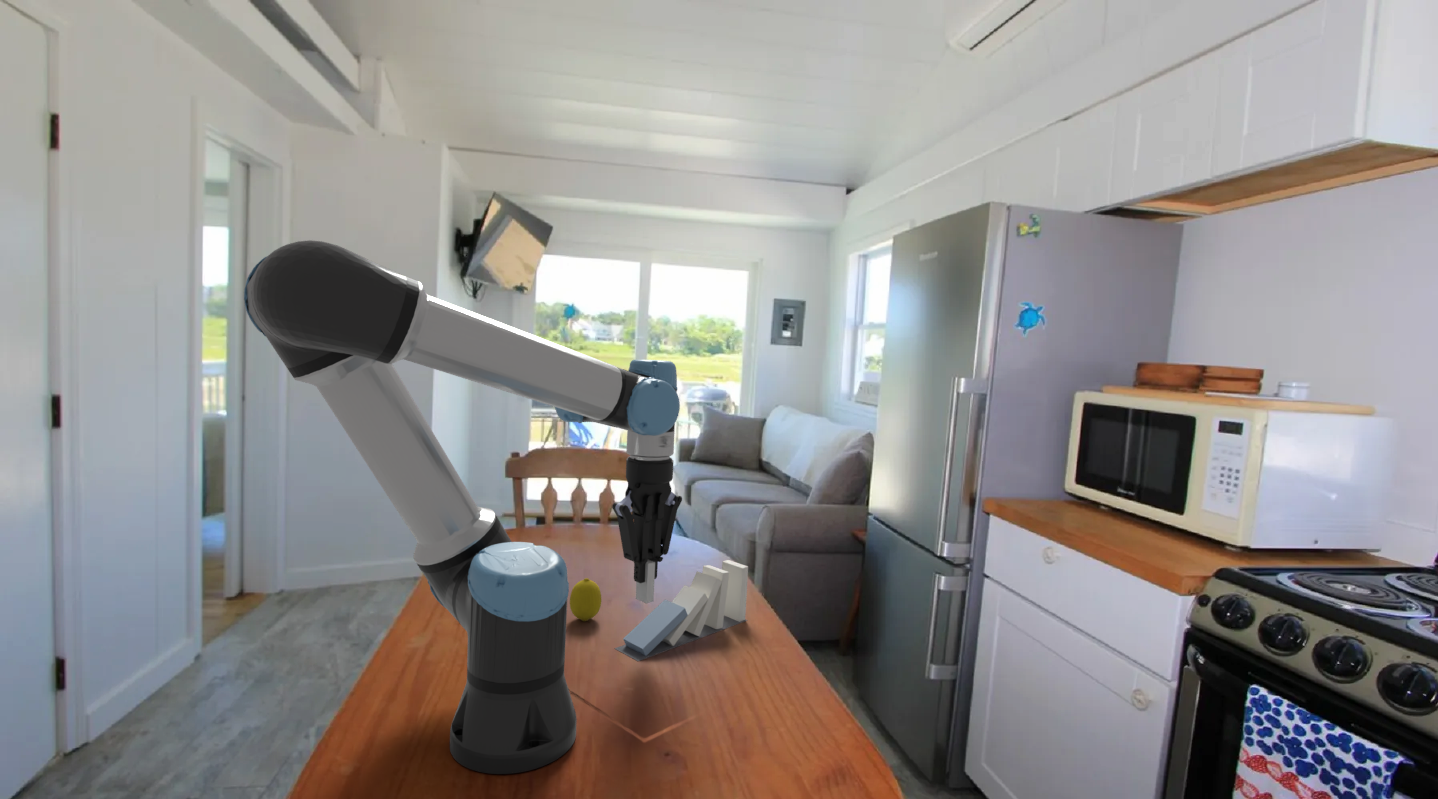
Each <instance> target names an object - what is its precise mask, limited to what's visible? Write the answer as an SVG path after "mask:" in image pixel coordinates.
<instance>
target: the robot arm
mask: <svg viewBox="0 0 1438 799" xmlns="http://www.w3.org/2000/svg"><path fill="white" fill-rule="evenodd" d="M243 290H244V291H243V300H244V308H245V311H246V313H247V315H248V318H249V319H250V321H251V323H252V324H253V326H254V327H255V328H256V330H258V331H259V333H261V334H262V335H263V336H264V337H265V338H266V339H267V340H268V341H269V343H270V345H271V346H272V347H273V349H274V350H275V352H276V354H277V355H278V357H279V358H280V360H281V361H282V363H283V364H284V366H285V367H286V369H287V370H288V372H289V373H290V375H291V376H292V378H293V379H294V380H295V381H298V382H301V383H305V384H309V385H312V386H315V387H316V388H317V390H318V391H319V393H320V395H321V396H322V398H323V400H325V402H326V403H327V405H328V407H329V408H330V409H331V411H332V413H333V414H334V416H335V417H336V419H337V420H338V423H339V424H340V426H341V427H342V428H343V431H345V433H346V434H347V436H348V438H349V439H350V441H351V442H352V444H353V446H355V448H356V449H357V451H358V452H359V454H360V456H361V457H362V459H363V460H364V462H365V463H366V465H367V467H368V468H369V470H370V471H371V472H372V474H373V476H374V478H375V479H376V480H377V482H378V483H379V485H380V486H381V488H382V489H383V491H384V493H385V494H386V496H387V498H388V499H389V500H390V502H391V504H392V505H393V506H394V508H395V510H396V511H397V513H398V514H399V516H400V517H401V519H402V520H403V522H404V524H405V525H406V527H407V528H408V530H409V531H410V533H411V534H412V536H413V538H415V540H416V542H417V543H416V545H415V546H416V547H415V548H414V552H413V560H414V562H415V564H416V565H417V566H418V568H419V570H420V571H421V572H422V574H423V576H424V577H425V579H426V580H427V583H428V585H429V588H430V589H429V590H430V592H431V593H432V595H433V597H434V599H435V600H436V601H437V602H439V604H440V605H441V606H442V607H443V608H445V609H446V610H447V611H448V612H449V613H450V614H451V616H452V617H453V618H455V620H456V622H458V624H459V625H460V626H461V627H462V628H463V629H464V630H465V631H466V634H467V635H466V636H467V655H466V656H467V657H466V658H467V659H466V661H467V662H466V666H467V668H466V683H465V685H464V689H463V691H462V694H461V697H460V700H459V702H458V705H457V709H456V711H455V713H454V716H453V718H452V721H451V724H450V725H451V726H450V731H449V751H450V754H451V756H452V758H453V759H454V760H455V761H456V762H457V763H458V764H460V765H461V766H463V767H464V768H467V769H469V770H471V771H475V772H478V773H484V774H489V775H490V774H491V775H493V774H494V775H509V774H518V773H525V772H529V771H532V770H535V769H539V768H541V767H544V766H546V765H548V764H549V765H550V764H551V763H553V762H555V761H557V760H558V759H560V758H561V757H562V756H564V755H565V754H566V753H567V752H568V751H569V750H570V749H571V748H572V746H573V745H574V743H575V741H576V737H577V722H578V721H577V720H578V719H577V713H576V709H575V707H574V703H573V700H572V697H571V693H570V691H569V690H570V689H569V686H568V684H567V680H566V676H565V660H566V637H567V631H566V630H567V616H568V615H567V614H568V598H569V592H570V590H569V588H570V583H569V580H568V567H567V563H566V561H565V559H564V558H563V557H562V556H561V554H559V553H558V552H557V551H555V550H554V549H552V548H549V547H548V546H545V545H535V543H533V542H526V541H512V539H511V538H510V536H509V535H508V533H507V531H506V529H505V528H504V526H503V524H502V522H501V521H500V519H499V518H498V516H497V514H496V513H495V511H494V510H493V509H491V508H488V507H481V506H478V505H477V503H476V502H475V500H474V498H473V497H472V495H471V494H470V492H469V491H468V489H467V487H466V485H465V484H464V482H463V480H462V479H461V477H460V475H459V474H458V471H457V470H456V468H455V467H454V465H453V463H452V462H451V460H450V459H449V457H448V455H447V453H446V452H445V450H444V448H443V447H442V445H441V444H440V442H439V440H438V438H437V436H436V435H435V434H434V432H433V430H432V428H431V426H430V425H429V423H428V421H427V420H426V418H425V417H424V415H423V414H422V412H421V410H420V408H419V407H418V405H417V403H416V401H415V400H414V399H413V397H412V395H411V393H410V392H409V390H408V388H407V386H406V385H405V383H404V382H403V380H402V378H401V377H400V375H399V373H398V372H397V370H396V368H395V367H394V365H393V364H394V363H397V362H399V361H401V360H403V361H408V362H411V363H414V364H417V365H421V366H423V367H427V368H430V369H433V370H436V371H439V372H443V373H446V374H449V375H452V376H455V377H459V378H462V379H465V380H468V381H471V382H475V383H478V384H481V385H484V386H487V387H491V388H494V389H496V390H500V391H503V392H506V393H510V394H513V395H516V396H518V397H519V396H520V397H522V398H526V399H529V400H532V401H535V402H538V403H541V404H545V405H548V406H551V407H554V408H555V412H556V414H557V416H558V418H560V420H561V421H563V422H564V423H565V422H566V423H578V424H582V423H596V424H600V425H605V426H608V427H613V428H618V429H621V430H625V431H627V436H626V454H627V455H629V456H627V458H626V460H625V461H626V462H625V465H626V466H625V480H626V482H627V488H626V490H625V493H624V494H625V495H624V496H625V497H624V498H623V499H622V500H620V502H613V503H612V506H611V508H612V510H613V512H614V514H615V515H616V518H617V523H618V529H619V536H620V541H621V547H622V552H623V557H624V559H626V560H628V561H632V562H633V580H634V582H636V585H635V586H636V587H635V599H636V600H638V601H640V602H642V603H644V604H651V603H653V602H654V601H655V598H654V597H655V580H656V579H657V577H658V564H659V563H660V562H662V561H663V560H664V557H663V555H664V556H666V555H668V553H669V550H670V545H671V541H672V540H671V539H672V535H673V532H674V531H673V530H674V527H675V523H676V522H675V521H676V516H677V512H678V509H679V507H680V505H681V503H682V501H683V497H682V496H681V495H678V494H676V493H674V492H673V491H672V486H671V484H670V482H672V480H673V479H674V459H673V458H672V457H671V456H673V455H674V453H675V427H676V422H677V421H678V417H679V414H680V409H681V408H680V407H681V404H680V398H679V395H678V393H677V392H678V381H677V380H678V375H677V367H676V364H675V363H674V362H673V361H671V360H663V359H661V360H660V359H633V360H631V361H630V363H629V368H628V369H623V368H621V367H617V366H616V365H614V364H610V363H608V362H606V361H602V360H600V359H598V358H595V357H592V356H590V355H587V354H585V353H581V352H579V351H576V350H575V349H572V348H569V347H566V346H564V345H561V344H558V343H555V342H553V341H551V340H548V339H545V338H542V337H540V336H537V335H535V334H532V333H529V332H527V331H524V330H521V329H520V328H519V329H518V328H516V327H514V326H511V325H508V324H505V323H503V322H501V321H498V320H495V319H493V318H490V317H487V316H484V315H481V314H479V313H477V312H474V311H471V310H469V309H466V308H465V307H464V308H463V307H461V306H458V305H456V304H454V303H450V302H447V301H445V300H442V299H439V298H438V297H434V296H432V295H429V294H428V293H427V292H426V290H425V288H424V286H423V284H422V282H421V281H419V280H416V279H414V278H411V277H408V276H407V275H404V274H401V273H399V272H397V271H395V270H393V269H390V268H387V267H386V266H384V265H381V264H379V263H376V262H375V261H372V260H370V259H368V258H366V257H364V256H362V255H360V254H358V253H356V252H354V251H351V250H349V249H347V248H345V247H343V246H340V245H336V244H333V243H329V242H325V241H322V240H321V241H319V240H310V239H309V240H300V241H299V240H298V241H295V242H290V243H287V244H285V245H282V246H280V247H278V248H277V249H274V250H273V251H272V252H271V253H270V254H268V255H267V256H264V257H263V258H262V259H261V260H260V261H259V262H258V263H256V264H255V266H253V268H252V270H251V271H250V273H249V274H248V276H247V278H246V281H245V287H244V289H243ZM658 562H659V563H658Z"/></svg>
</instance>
